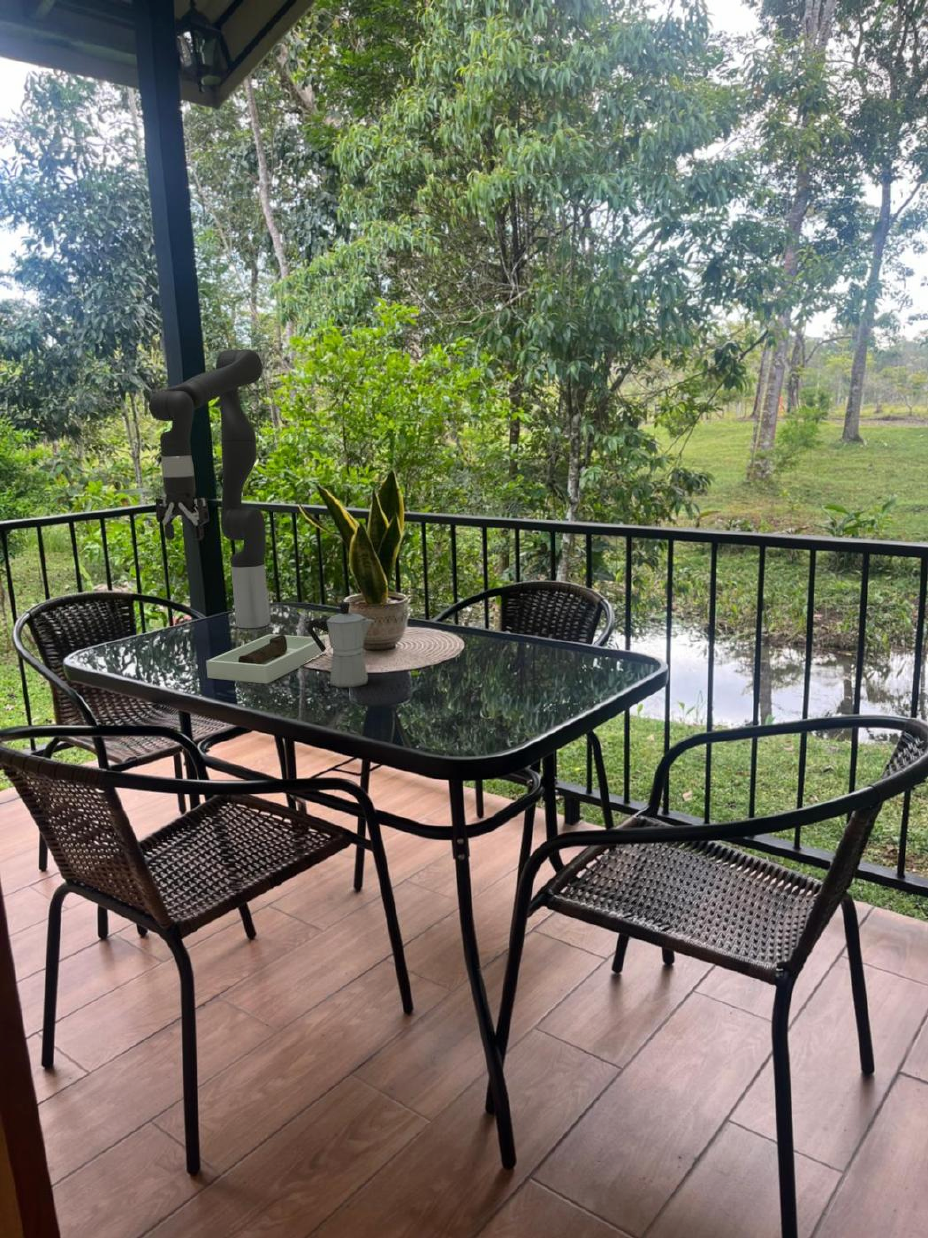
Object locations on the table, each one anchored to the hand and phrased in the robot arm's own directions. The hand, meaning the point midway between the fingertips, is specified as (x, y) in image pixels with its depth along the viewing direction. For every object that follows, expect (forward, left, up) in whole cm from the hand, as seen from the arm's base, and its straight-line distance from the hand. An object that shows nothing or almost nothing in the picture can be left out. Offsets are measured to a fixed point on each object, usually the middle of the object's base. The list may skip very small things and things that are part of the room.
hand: (184, 539), depth 233 cm
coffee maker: (+16, +52, -28) cm, 61 cm away
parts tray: (+9, +28, -28) cm, 41 cm away
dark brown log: (+9, +27, -27) cm, 39 cm away
